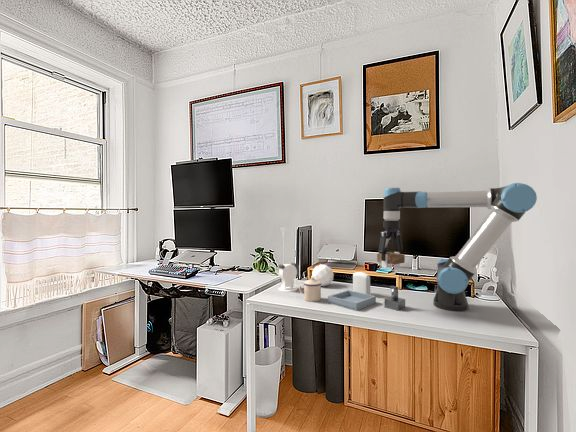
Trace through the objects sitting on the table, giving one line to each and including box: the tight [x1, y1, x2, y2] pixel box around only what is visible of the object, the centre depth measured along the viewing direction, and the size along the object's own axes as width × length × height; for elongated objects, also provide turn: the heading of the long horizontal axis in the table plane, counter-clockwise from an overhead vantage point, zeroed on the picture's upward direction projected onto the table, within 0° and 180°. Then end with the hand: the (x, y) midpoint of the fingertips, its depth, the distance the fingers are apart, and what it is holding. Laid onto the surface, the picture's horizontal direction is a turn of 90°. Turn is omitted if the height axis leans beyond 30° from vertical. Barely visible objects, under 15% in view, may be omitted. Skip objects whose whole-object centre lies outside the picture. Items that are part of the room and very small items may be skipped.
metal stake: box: [384, 285, 406, 311], centre depth 152 cm, size 7×7×10 cm
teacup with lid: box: [298, 276, 322, 303], centre depth 167 cm, size 12×9×12 cm
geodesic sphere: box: [311, 263, 335, 287], centre depth 195 cm, size 14×14×14 cm
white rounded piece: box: [277, 262, 298, 293], centre depth 187 cm, size 12×11×15 cm
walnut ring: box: [376, 251, 406, 266], centre depth 153 cm, size 10×9×4 cm
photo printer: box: [352, 271, 371, 295], centre depth 175 cm, size 10×4×12 cm, turn 39°
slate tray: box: [327, 289, 377, 312], centre depth 159 cm, size 17×17×4 cm
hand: (390, 266), depth 153 cm, fingers closed on walnut ring, 9 cm apart
